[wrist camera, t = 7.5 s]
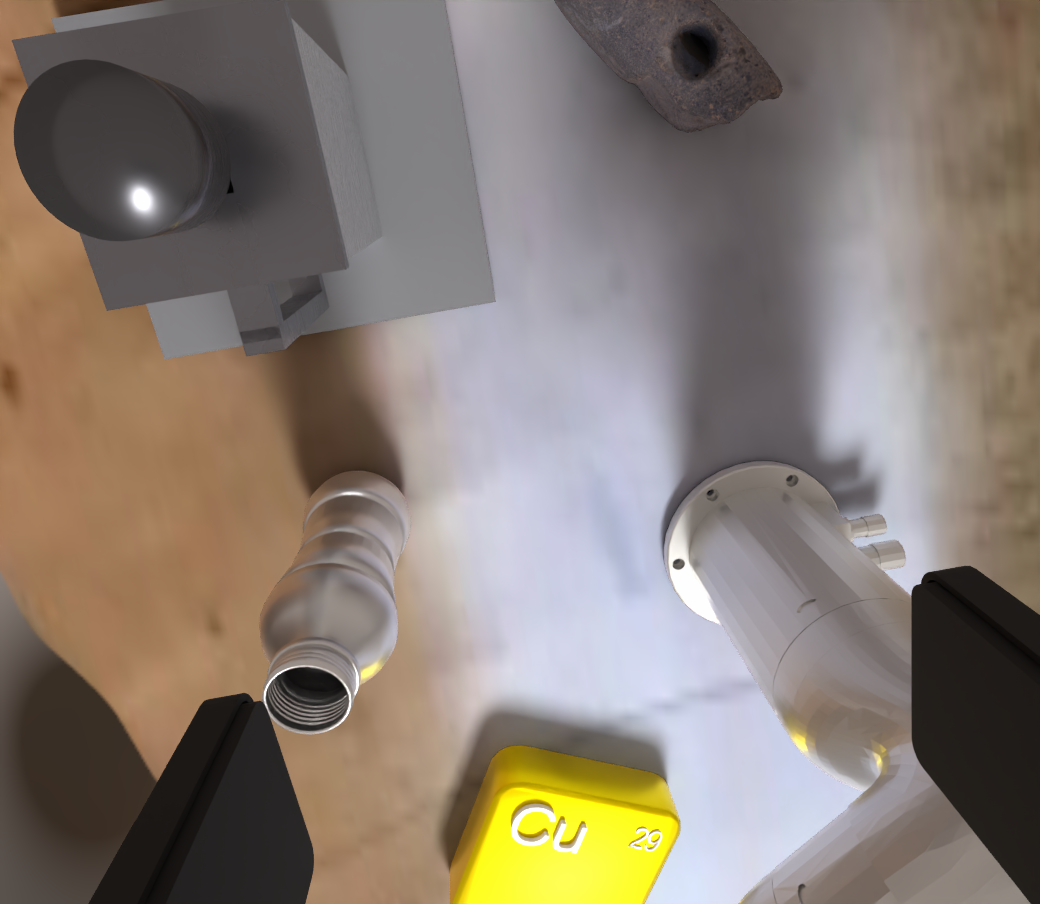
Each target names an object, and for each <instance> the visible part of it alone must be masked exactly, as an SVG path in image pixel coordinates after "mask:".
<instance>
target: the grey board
mask: <svg viewBox="0 0 1040 904" xmlns="http://www.w3.org/2000/svg"><path fill="white" fill-rule="evenodd" d="M247 1H253V0H163V1H157V2H150V3H144V4H138V5H132V6H126V7H120V8H114V9H108V10H101V11H95V12H89V13H83V14H77V15H71V16H65V17H59V18H53V19H52V22H53V25H54V28H55V31H56V33H58V32H64V31H70V30H76V29H82V28H89V27H95V26H101V25H107V24H113V23H119V22H125V21H131V20H137V19H144V18H150V17H156V16H162V15H168V14H174V13H180V12H186V11H192V10H198V9H205V8H211V7H217V6H223V5H229V4H235V3H241V2H247ZM287 2H288V6H289V10H290V14H291V18H292V19H293V20H294V21H295V22H296V23H297V24H298V25H299V26H300V27H301V28H302V29H303V30H304V31H305V32H306V33H307V34H308V35H309V36H310V37H311V38H312V39H313V40H314V41H315V43H316V44H317V45H318V46H319V47H320V48H321V49H322V50H323V51H324V52H325V53H326V54H327V55H328V56H329V57H330V58H331V59H332V60H333V61H334V62H335V63H336V64H337V65H338V66H339V67H340V68H341V69H342V70H343V71H344V72H345V73H346V74H347V76H348V78H349V83H350V87H351V92H352V97H353V101H354V106H355V110H356V115H357V120H358V124H359V129H360V134H361V138H362V143H363V148H364V152H365V157H366V161H367V166H368V171H369V175H370V180H371V185H372V189H373V194H374V198H375V203H376V208H377V212H378V217H379V222H380V226H381V231H382V237H381V238H379V239H378V240H376V241H375V242H373V243H372V244H370V245H369V246H367V247H366V248H364V249H363V250H361V251H360V252H358V253H357V254H355V255H354V256H352V257H351V258H349V259H348V262H349V266H350V267H349V268H348V269H346V270H340V271H334V272H328V273H323V274H322V278H323V282H324V286H325V290H326V294H327V298H328V302H329V306H330V307H329V308H328V309H327V310H326V311H325V312H324V313H323V314H322V315H321V316H320V317H319V318H318V319H317V320H316V321H315V322H313V323H312V324H311V325H310V326H309V327H308V328H307V329H306V330H305V331H304V332H303V333H302V334H301V335H300V336H302V335H308V334H313V333H319V332H325V331H331V330H336V329H342V328H348V327H354V326H359V325H365V324H371V323H377V322H382V321H388V320H394V319H400V318H405V317H411V316H417V315H422V314H428V313H434V312H440V311H445V310H451V309H457V308H463V307H468V306H474V305H480V304H486V303H491V302H496V300H495V295H494V289H493V283H492V277H491V271H490V265H489V259H488V253H487V248H486V242H485V236H484V230H483V224H482V218H481V212H480V206H479V200H478V195H477V189H476V183H475V177H474V171H473V165H472V159H471V153H470V147H469V142H468V136H467V130H466V124H465V118H464V112H463V106H462V100H461V95H460V89H459V83H458V77H457V71H456V65H455V59H454V53H453V47H452V42H451V36H450V30H449V24H448V18H447V12H446V6H445V0H287ZM273 283H274V287H275V290H276V294H277V298H278V302H279V305H281V304H282V303H284V302H285V301H287V300H288V299H290V298H291V297H293V295H292V292H291V288H290V284H289V280H282V281H276V282H273ZM146 305H147V308H148V311H149V314H150V317H151V320H152V323H153V326H154V329H155V332H156V335H157V338H158V341H159V344H160V347H161V350H162V353H163V356H164V359H170V358H176V357H181V356H187V355H193V354H199V353H204V352H210V351H216V350H222V349H227V348H233V347H239V346H243V343H242V340H241V337H240V333H239V330H238V326H237V323H236V319H235V316H234V313H233V309H232V306H231V302H230V299H229V296H228V292H227V290H224V291H218V292H212V293H207V294H201V295H195V296H189V297H183V298H178V299H172V300H166V301H160V302H154V303H149V304H146Z"/></svg>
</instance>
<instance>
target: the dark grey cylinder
mask: <svg viewBox="0 0 1040 904" xmlns="http://www.w3.org/2000/svg"><path fill="white" fill-rule="evenodd" d="M14 145H15V151H16V156H17V160H18V163H19V166H20V169H21V171H22V174H23V176H24V178H25V180H26V182H27V184H28V185H29V187H30V189H31V191H32V192H33V193H34V195H35V196H36V198H37V199H38V200H39V201H40V203H41V204H42V205H43V206H44V207H45V208H46V209H47V210H48V211H49V212H50V213H51V214H52V215H54V216H55V217H56V218H57V219H58V220H60V221H61V222H63V223H64V224H65V225H67V226H69V227H70V228H72V229H74V230H76V231H78V232H80V233H82V234H85V235H87V236H90V237H94V238H97V239H101V240H108V241H131V240H138V239H144V238H150V237H156V236H162V235H168V234H174V233H180V232H184V231H188V230H191V229H193V228H196V227H198V226H199V225H201V224H203V223H204V222H206V221H207V220H208V219H209V218H211V217H212V216H213V215H214V213H215V212H216V211H217V210H218V209H219V207H220V206H221V204H222V203H223V201H224V198H225V196H226V194H227V191H228V188H229V183H230V181H231V160H230V153H229V149H228V145H227V142H226V139H225V136H224V134H223V132H222V130H221V128H220V126H219V125H218V123H217V121H216V120H215V118H214V117H213V116H212V114H211V113H210V112H209V111H208V109H207V108H206V107H205V106H204V105H203V104H202V103H201V102H200V101H198V100H197V99H196V98H195V97H193V96H192V95H191V94H189V93H188V92H186V91H184V90H183V89H181V88H179V87H177V86H174V85H172V84H169V83H167V82H164V81H161V80H158V79H156V78H153V77H150V76H147V75H145V74H142V73H139V72H136V71H134V70H131V69H128V68H125V67H122V66H120V65H116V64H113V63H110V62H106V61H100V60H89V59H83V60H73V61H69V62H65V63H62V64H59V65H57V66H54V67H52V68H50V69H49V70H47V71H45V72H44V73H42V74H41V75H40V76H39V77H38V78H37V79H35V80H34V81H33V83H32V84H31V85H30V86H29V88H28V89H27V90H26V92H25V94H24V95H23V97H22V99H21V101H20V104H19V106H18V109H17V113H16V118H15V124H14Z"/></svg>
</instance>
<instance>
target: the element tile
mask: <svg viewBox="0 0 1040 904" xmlns="http://www.w3.org/2000/svg"><path fill="white" fill-rule="evenodd" d="M679 834H680V819H679V816H678V813H677V810H676V807H675V804H674V802H673V799H672V796H671V793H670V790H669V787H668V785H667V783H666V781H665V780H664V779H663V778H662V777H660V776H659V775H657V774H655V773H652V772H648V771H643V770H638V769H634V768H629V767H624V766H619V765H615V764H610V763H605V762H600V761H596V760H591V759H586V758H581V757H577V756H572V755H567V754H562V753H558V752H553V751H548V750H543V749H539V748H534V747H529V746H522V745H515V746H508V747H506V748H504V749H501V750H500V751H499V752H498V753H497V754H496V755H495V756H494V757H493V758H492V760H491V762H490V764H489V767H488V769H487V772H486V775H485V777H484V780H483V782H482V785H481V787H480V790H479V793H478V795H477V798H476V800H475V803H474V806H473V808H472V811H471V813H470V816H469V819H468V821H467V824H466V826H465V829H464V831H463V834H462V837H461V839H460V842H459V844H458V847H457V850H456V852H455V855H454V857H453V860H452V863H451V867H450V904H645V902H646V900H647V898H648V896H649V894H650V892H651V890H652V888H653V886H654V884H655V882H656V880H657V878H658V876H659V874H660V872H661V870H662V868H663V866H664V864H665V862H666V860H667V858H668V856H669V854H670V852H671V850H672V848H673V846H674V844H675V842H676V840H677V838H678V836H679Z"/></svg>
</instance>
